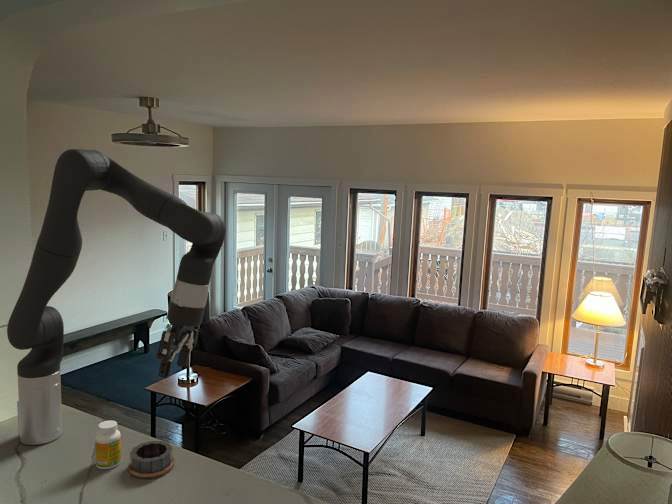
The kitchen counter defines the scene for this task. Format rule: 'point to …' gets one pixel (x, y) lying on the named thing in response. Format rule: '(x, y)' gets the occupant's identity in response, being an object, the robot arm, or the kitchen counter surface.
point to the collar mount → (151, 460)
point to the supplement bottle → (108, 445)
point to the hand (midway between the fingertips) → (172, 371)
